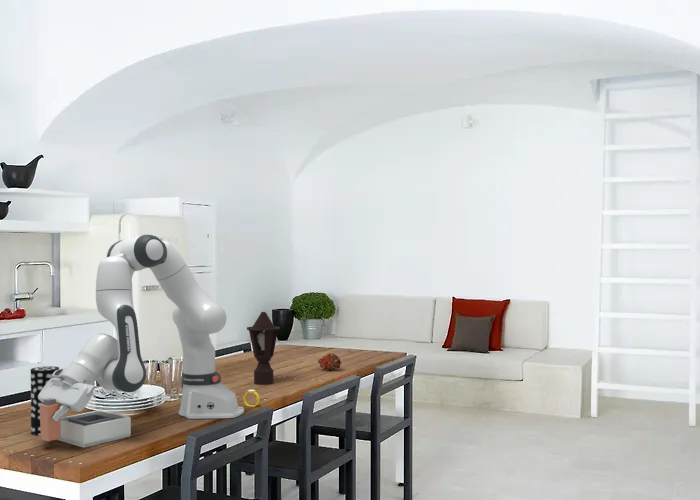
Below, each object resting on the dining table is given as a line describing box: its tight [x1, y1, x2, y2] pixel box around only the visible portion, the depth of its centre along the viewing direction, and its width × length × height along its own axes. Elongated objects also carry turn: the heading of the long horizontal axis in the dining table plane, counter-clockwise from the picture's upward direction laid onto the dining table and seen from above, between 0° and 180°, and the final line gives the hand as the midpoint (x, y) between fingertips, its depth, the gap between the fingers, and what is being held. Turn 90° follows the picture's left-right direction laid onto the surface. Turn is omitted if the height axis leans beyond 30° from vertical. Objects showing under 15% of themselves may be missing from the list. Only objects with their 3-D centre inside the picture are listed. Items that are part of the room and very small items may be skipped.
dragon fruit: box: [317, 352, 342, 372], centre depth 351 cm, size 8×8×12 cm
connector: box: [40, 398, 61, 442], centre depth 219 cm, size 4×4×12 cm
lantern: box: [246, 311, 281, 386], centre depth 319 cm, size 15×15×30 cm
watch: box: [242, 389, 261, 408], centre depth 274 cm, size 6×3×6 cm, turn 70°
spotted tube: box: [30, 365, 60, 436], centre depth 237 cm, size 8×8×20 cm
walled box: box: [56, 409, 132, 449], centre depth 231 cm, size 16×16×6 cm
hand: (48, 418), depth 219 cm, fingers closed on connector, 4 cm apart
